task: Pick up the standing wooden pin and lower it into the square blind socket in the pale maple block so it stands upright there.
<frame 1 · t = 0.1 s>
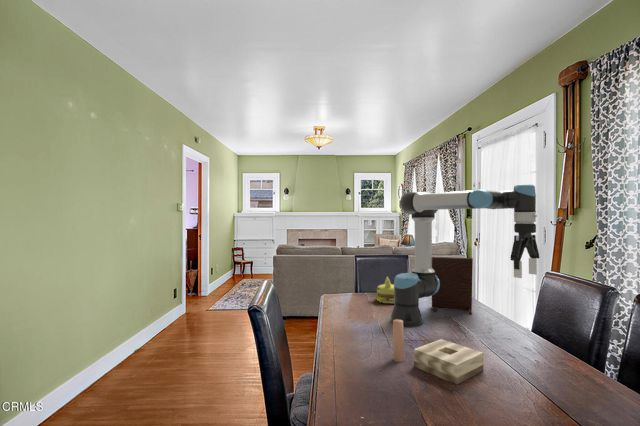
hand: (525, 275, 136), 28 cm above the table, fingers open, 13 cm apart
bore block: (448, 368, 115), on the table
pin: (398, 359, 122), on the table
toy: (388, 302, 208), on the table
dark brown wooden cabinet: (451, 311, 187), on the table
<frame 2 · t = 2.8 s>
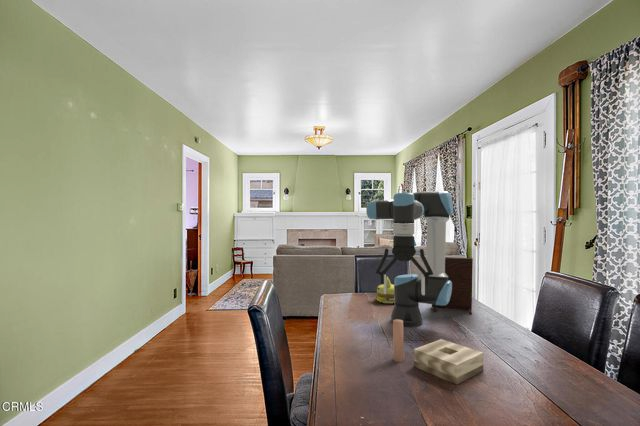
hand: (403, 293, 123), 24 cm above the table, fingers open, 13 cm apart
nothing on the table moved.
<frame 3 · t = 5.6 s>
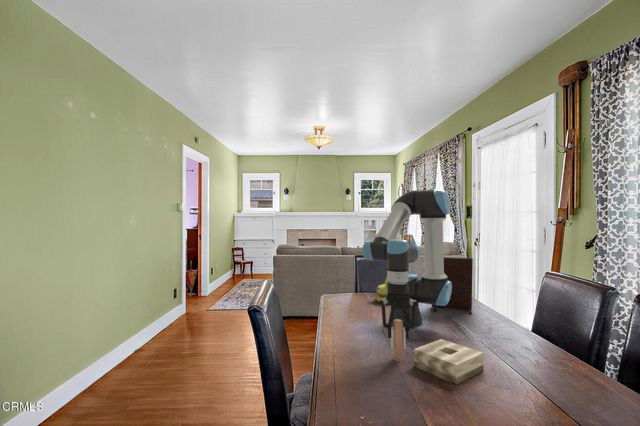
hand: (398, 346, 122), 5 cm above the table, fingers closed on pin, 3 cm apart
pin: (398, 359, 122), on the table, touching gripper
everything else where it was.
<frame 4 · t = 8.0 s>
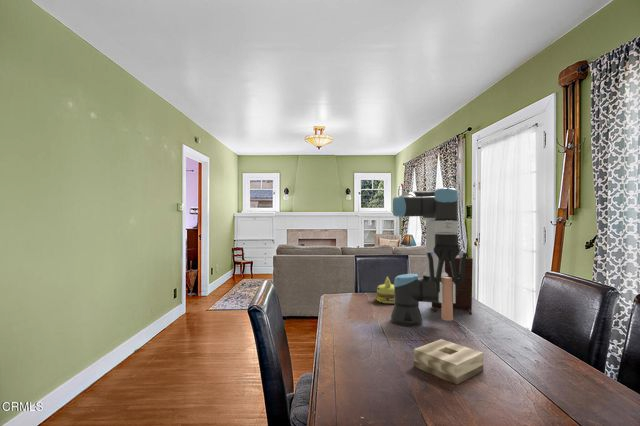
hand: (446, 301, 116), 23 cm above the table, fingers closed on pin, 3 cm apart
pin: (447, 319, 115), point 17 cm above the table, touching gripper
everything else where it was.
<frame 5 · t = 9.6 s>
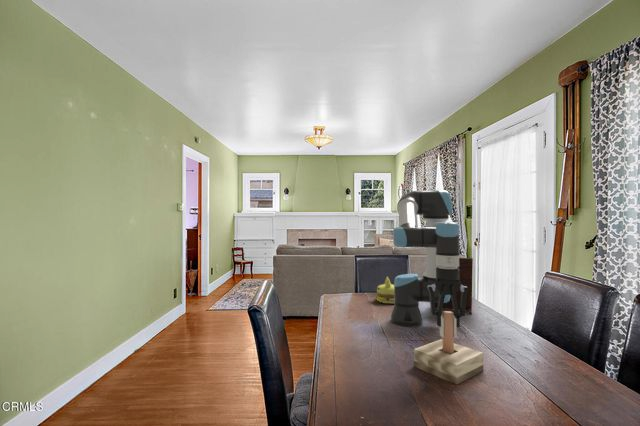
hand: (448, 336, 115), 11 cm above the table, fingers closed on pin, 3 cm apart
pin: (448, 353, 115), point 5 cm above the table, touching gripper
everything else where it was.
when the fingers open (7 cm above the table, at t = 10.5 s): pin stays where it is, resting on bore block.
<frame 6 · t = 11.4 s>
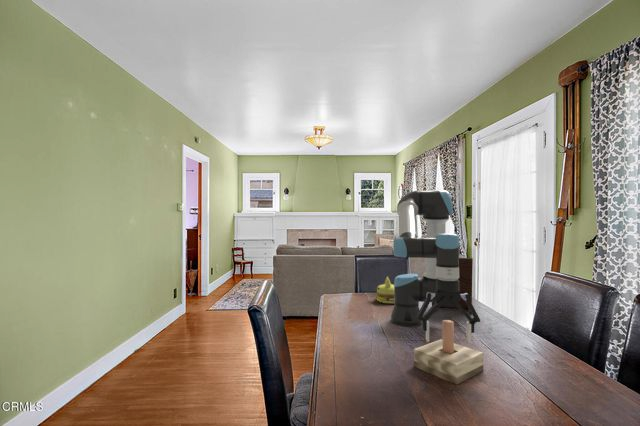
hand: (448, 341, 115), 9 cm above the table, fingers open, 13 cm apart
pin: (448, 362, 115), point 2 cm above the table, touching bore block
everything else where it was.
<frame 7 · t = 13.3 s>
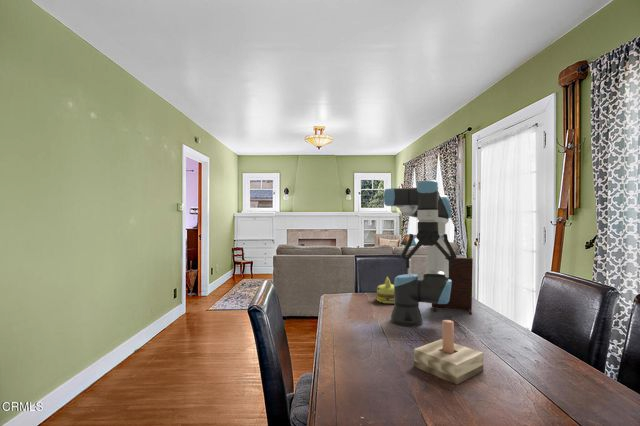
hand: (428, 276, 129), 29 cm above the table, fingers open, 13 cm apart
nothing on the table moved.
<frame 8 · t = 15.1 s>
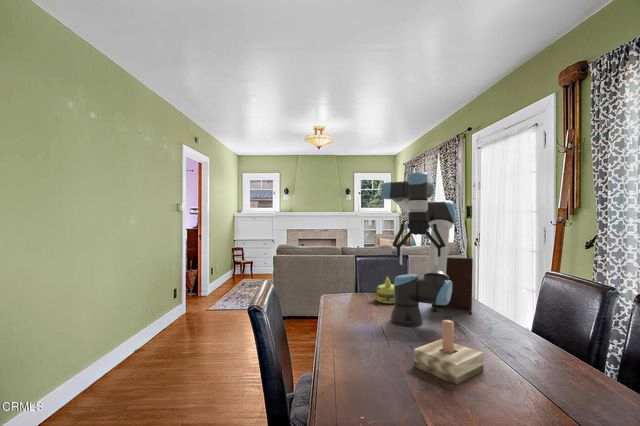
hand: (418, 264, 135), 33 cm above the table, fingers open, 13 cm apart
nothing on the table moved.
at the end: pin 0.1 cm off-centre on the bore block, point 2.0 cm above the bore block's base; pin tilted 0°; the gripper is holding nothing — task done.
